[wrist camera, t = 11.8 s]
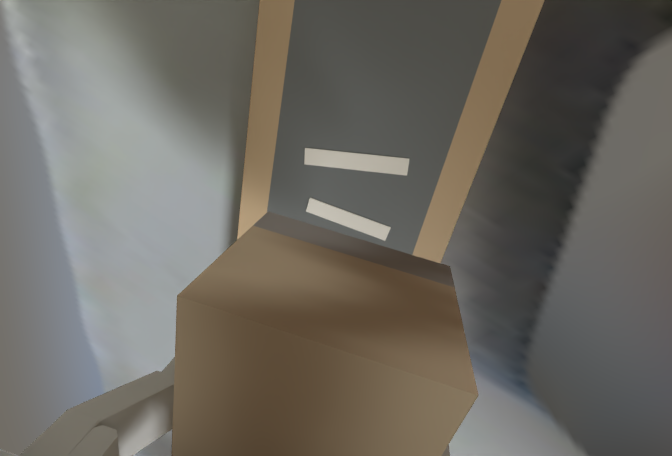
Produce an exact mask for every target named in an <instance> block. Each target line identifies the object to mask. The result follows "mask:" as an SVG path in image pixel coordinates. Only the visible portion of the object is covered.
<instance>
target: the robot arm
mask: <svg viewBox="0 0 672 456" xmlns="http://www.w3.org/2000/svg"><path fill="white" fill-rule="evenodd" d="M174 372H175V357H174V358H173V359H172V360H171V362H170V363H169V364H168V365H167V366H166V367H165V369H164V370H163V371H162V372H160V371H155V372H153V373H151V374H148V375H146V376H144V377H141V378H139V379H137V380H134V381H132V382H130V383H127V384H125V385H123V386H121V387H118V388H116V389H114V390H111V391H109V392H107V393H104V394H102V395H100V396H98V397H95V398H93V399H91V400H88V401H86V402H84V403H81V404H79V405H77V406H75V407H73V408H70V409H68V410H66V412H64V413H63V414H62V415H61V416H60V417H59V418H58V419H57V420H56V421H55V422H54V423H53V424H52V425H51V426H50V427H49V428H48V429H46V430H45V431H44V432H43V433H42V434H41V435H40V436H39V437H38V438H37V439H36V440H35V441H34V442H33V443H32V444H31V445H30V446H29V447H28V448H26V449H25V450H24V451H23V452H22V453H21V454H20V455H19V456H133V455H134V454H136V453H137V452H139V451H140V450H142V449H143V448H145V447H146V446H148V445H149V444H151V443H152V442H154V441H155V440H157V439H158V438H160V437H161V436H163V435H164V434H165V433H167V432H168V431H170V430H171V429H172V428H173V400H174ZM0 456H18V455H15V454H13V453H10V452H7V451H5V450H3V449H0ZM442 456H450V452H449V444H448V446H447V448H446V449H445V451H444V452H443V454H442Z"/></svg>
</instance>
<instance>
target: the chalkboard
mask: <svg viewBox="0 0 672 456" xmlns="http://www.w3.org/2000/svg"><path fill="white" fill-rule="evenodd" d="M544 1H545V0H260V3H259V13H258V24H257V34H256V45H255V56H254V66H253V77H252V87H251V98H250V109H249V119H248V130H247V141H246V151H245V162H244V172H243V183H242V194H241V204H240V215H239V225H238V236H237V240H238V239H239V238H240V237H241V236H242V235H243V234H244V233H245V232H246V231H247V230H249V229H250V228H251V227H252V226H253V225H254V224H255V223H256V222H257V221H258V220H259V219H260V218H261V217H263V216H264V215H265V214H266V213H267V212H268V211H269V212H272V213H275V214H279V215H282V216H285V217H289V218H292V219H295V220H299V221H302V222H305V223H308V224H312V225H315V226H318V227H322V228H325V229H328V230H332V231H335V232H338V233H342V234H345V235H348V236H351V237H355V238H358V239H361V240H365V241H368V242H371V243H375V244H378V245H381V246H384V247H388V248H391V249H394V250H398V251H401V252H404V253H408V254H411V255H414V256H417V257H421V258H424V259H427V260H431V261H434V262H437V263H441V260H442V258H443V255H444V253H445V250H446V248H447V245H448V243H449V240H450V238H451V235H452V233H453V230H454V228H455V225H456V222H457V220H458V217H459V215H460V212H461V210H462V207H463V205H464V202H465V200H466V197H467V195H468V192H469V190H470V187H471V185H472V182H473V180H474V177H475V175H476V172H477V170H478V167H479V164H480V162H481V159H482V157H483V154H484V152H485V149H486V147H487V144H488V142H489V139H490V137H491V134H492V132H493V129H494V127H495V124H496V122H497V119H498V117H499V114H500V112H501V109H502V107H503V104H504V101H505V99H506V96H507V94H508V91H509V89H510V86H511V84H512V81H513V79H514V76H515V74H516V71H517V69H518V66H519V64H520V61H521V59H522V56H523V54H524V51H525V49H526V46H527V43H528V41H529V38H530V36H531V33H532V31H533V28H534V26H535V23H536V21H537V18H538V16H539V13H540V11H541V8H542V6H543V3H544Z"/></svg>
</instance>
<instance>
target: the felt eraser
mask: <svg viewBox="0 0 672 456" xmlns="http://www.w3.org/2000/svg"><path fill="white" fill-rule="evenodd" d="M477 397H478V391H477V387H476V382H475V378H474V373H473V369H472V364H471V360H470V355H469V351H468V346H467V342H466V337H465V333H464V328H463V324H462V319H461V314H460V310H459V305H458V301H457V296H456V292H455V287H454V283H453V278H452V274H451V269H450V266H447V265H444V264H441V263H437V262H434V261H431V260H427V259H424V258H421V257H417V256H414V255H411V254H408V253H404V252H401V251H398V250H394V249H391V248H388V247H384V246H381V245H378V244H375V243H371V242H368V241H365V240H361V239H358V238H355V237H351V236H348V235H345V234H342V233H338V232H335V231H332V230H328V229H325V228H322V227H318V226H315V225H312V224H308V223H305V222H302V221H299V220H295V219H292V218H289V217H285V216H282V215H279V214H275V213H272V212H269V211H268V212H267V213H266V214H265V215H264V216H263V217H261V218H260V219H259V220H258V221H257V222H256V223H255V224H254V225H253V226H252V227H251V228H250V229H249V230H247V231H246V232H245V233H244V234H243V235H242V236H241V237H240V238H239V239H238V240H237V241H236V242H235V243H233V244H232V245H231V246H230V247H229V248H228V249H227V250H226V251H225V252H224V253H223V254H222V255H221V256H219V257H218V258H217V259H216V260H215V261H214V262H213V263H212V264H211V265H210V266H209V267H208V268H207V269H205V270H204V271H203V272H202V273H201V274H200V275H199V276H198V277H197V278H196V279H195V280H194V281H193V282H191V283H190V284H189V285H188V286H187V287H186V288H185V289H184V290H183V291H182V292H181V293H180V294H179V295H177V315H176V344H175V372H174V400H173V428H172V456H442V454H443V452H444V451H445V449H446V448H447V446H448V444H449V443H450V441H451V439H452V438H453V436H454V434H455V433H456V431H457V430H458V428H459V426H460V425H461V423H462V421H463V420H464V418H465V417H466V415H467V413H468V412H469V410H470V408H471V407H472V405H473V404H474V402H475V400H476V399H477Z"/></svg>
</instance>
